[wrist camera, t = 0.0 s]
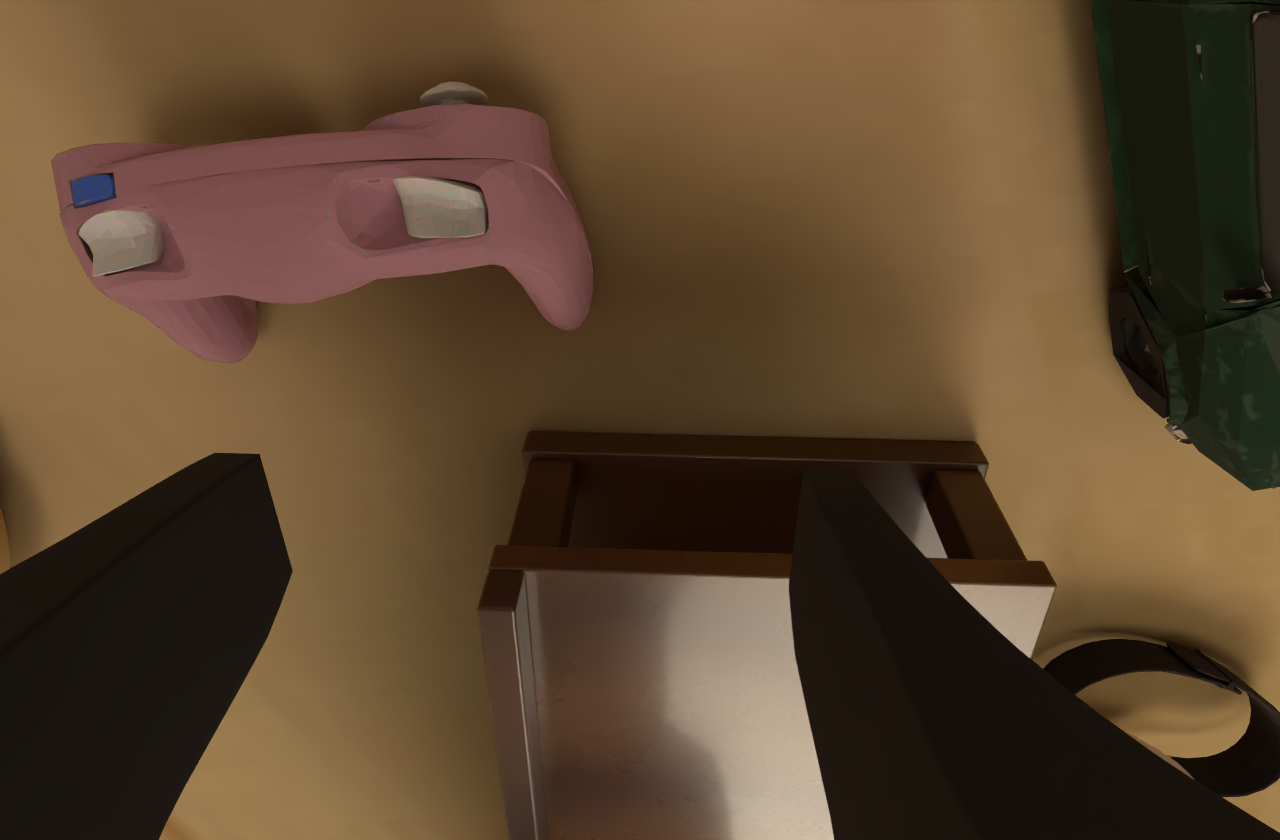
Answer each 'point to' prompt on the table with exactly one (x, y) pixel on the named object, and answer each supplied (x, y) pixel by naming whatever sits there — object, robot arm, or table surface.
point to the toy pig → (4, 546)
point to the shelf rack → (696, 625)
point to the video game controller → (324, 217)
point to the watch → (1271, 735)
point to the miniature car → (1198, 218)
